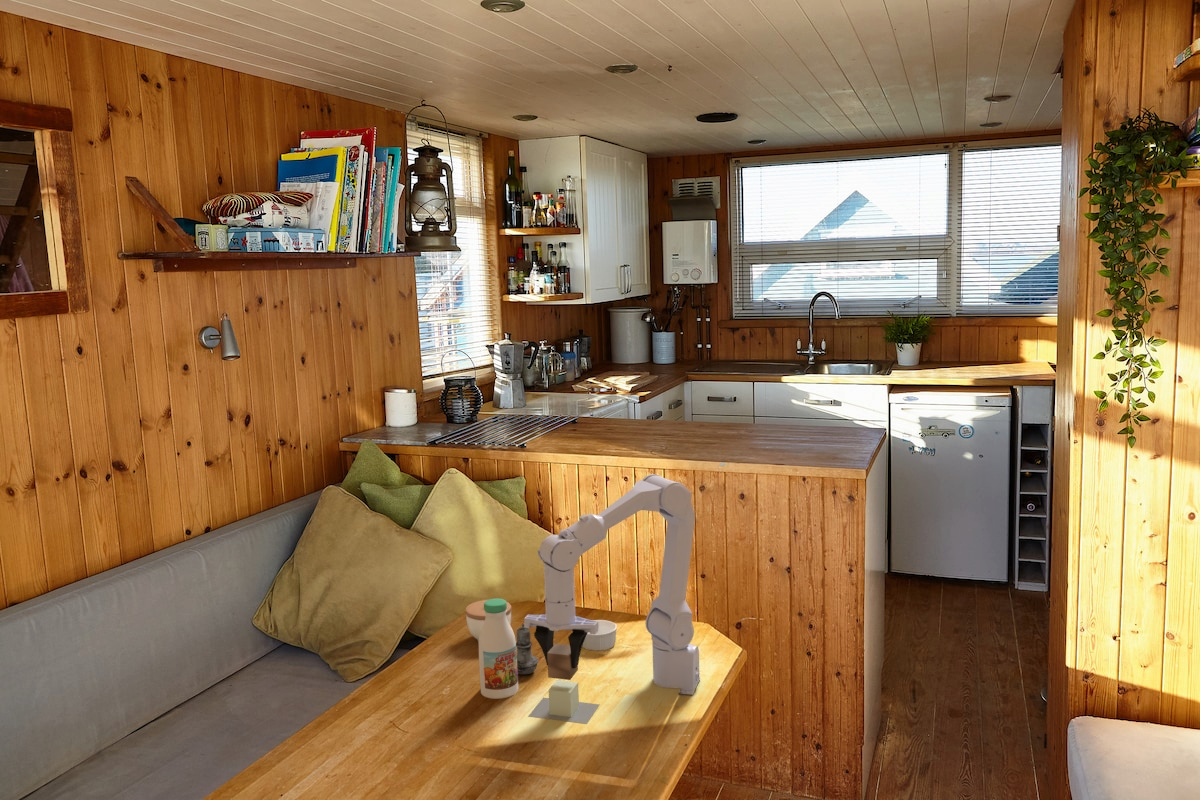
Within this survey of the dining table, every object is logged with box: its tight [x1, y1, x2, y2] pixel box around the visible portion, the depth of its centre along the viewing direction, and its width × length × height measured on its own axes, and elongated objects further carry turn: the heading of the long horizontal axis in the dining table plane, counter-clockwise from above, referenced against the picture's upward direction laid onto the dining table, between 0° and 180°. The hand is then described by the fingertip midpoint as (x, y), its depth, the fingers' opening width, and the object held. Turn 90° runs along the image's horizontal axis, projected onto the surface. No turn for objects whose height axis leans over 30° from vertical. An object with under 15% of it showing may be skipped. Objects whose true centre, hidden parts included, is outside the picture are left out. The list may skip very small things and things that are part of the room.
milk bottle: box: [478, 598, 519, 700], centre depth 192 cm, size 8×8×20 cm
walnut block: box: [547, 643, 579, 681], centre depth 182 cm, size 4×4×5 cm
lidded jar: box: [465, 598, 512, 643], centre depth 221 cm, size 11×11×9 cm
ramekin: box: [582, 619, 618, 652], centre depth 217 cm, size 9×9×4 cm
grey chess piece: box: [516, 623, 539, 675], centre depth 200 cm, size 6×6×12 cm
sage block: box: [548, 679, 580, 717], centre depth 183 cm, size 4×4×5 cm
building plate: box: [528, 697, 601, 725], centre depth 184 cm, size 12×8×1 cm, turn 72°
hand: (562, 664), depth 182 cm, fingers closed on walnut block, 4 cm apart
